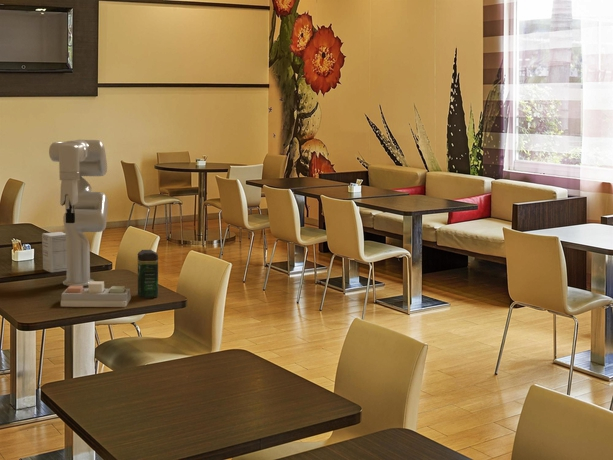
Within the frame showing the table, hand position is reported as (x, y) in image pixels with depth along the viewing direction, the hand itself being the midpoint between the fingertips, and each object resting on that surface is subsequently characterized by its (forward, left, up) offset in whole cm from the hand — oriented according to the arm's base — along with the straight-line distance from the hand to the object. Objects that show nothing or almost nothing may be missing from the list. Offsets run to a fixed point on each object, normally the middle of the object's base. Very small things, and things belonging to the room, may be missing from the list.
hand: (70, 222), depth 323 cm
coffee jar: (0, +30, -29) cm, 42 cm away
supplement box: (-51, -18, -29) cm, 62 cm away
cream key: (+12, +12, -25) cm, 30 cm away
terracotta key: (+12, +4, -26) cm, 29 cm away
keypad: (+12, +12, -29) cm, 34 cm away
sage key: (+12, +20, -27) cm, 35 cm away
